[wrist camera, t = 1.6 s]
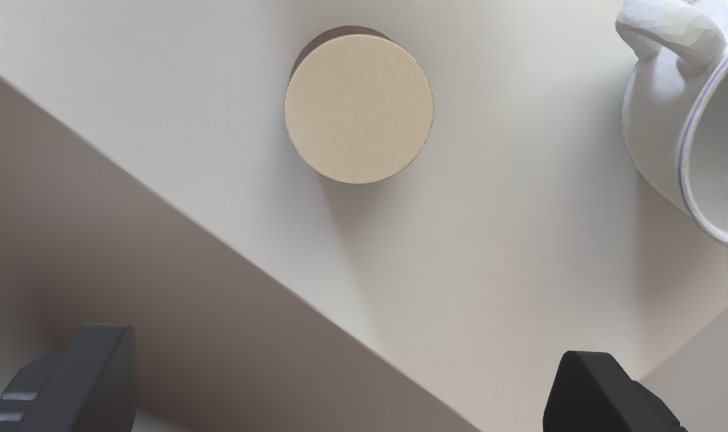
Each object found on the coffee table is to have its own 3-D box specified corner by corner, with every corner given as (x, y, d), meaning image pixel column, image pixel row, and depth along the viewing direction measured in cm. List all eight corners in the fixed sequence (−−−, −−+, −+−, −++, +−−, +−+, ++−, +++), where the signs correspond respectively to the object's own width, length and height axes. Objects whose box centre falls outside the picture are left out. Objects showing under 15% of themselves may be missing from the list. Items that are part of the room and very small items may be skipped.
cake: (294, 18, 25) (289, 26, 20) (422, 34, 26) (446, 45, 21) (285, 145, 27) (279, 178, 23) (403, 156, 28) (421, 190, 24)
